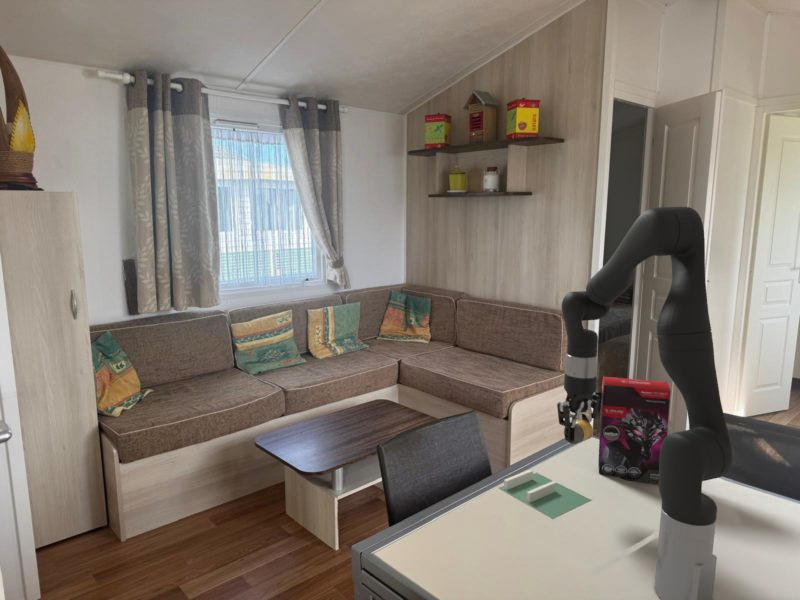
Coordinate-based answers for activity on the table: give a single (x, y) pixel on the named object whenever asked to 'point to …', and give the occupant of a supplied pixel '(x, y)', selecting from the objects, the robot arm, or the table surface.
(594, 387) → the robot arm
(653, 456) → the graphics card box
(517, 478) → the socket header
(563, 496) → the green board
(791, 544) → the table surface
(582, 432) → the amber plug
